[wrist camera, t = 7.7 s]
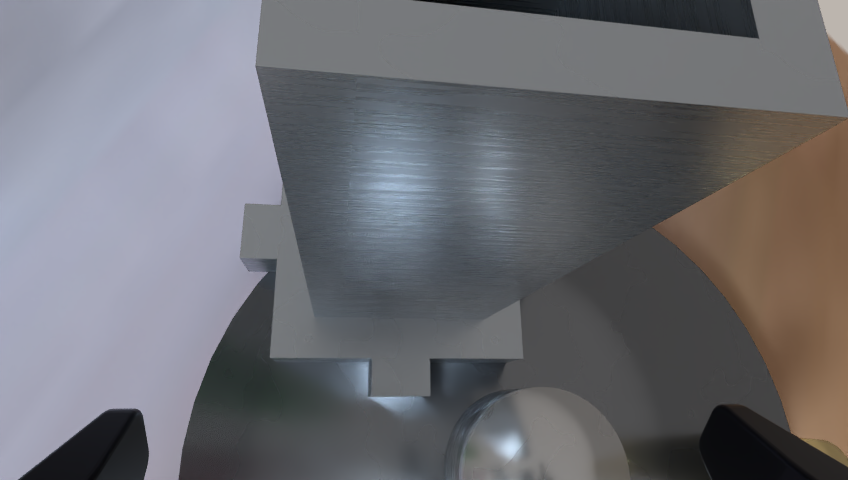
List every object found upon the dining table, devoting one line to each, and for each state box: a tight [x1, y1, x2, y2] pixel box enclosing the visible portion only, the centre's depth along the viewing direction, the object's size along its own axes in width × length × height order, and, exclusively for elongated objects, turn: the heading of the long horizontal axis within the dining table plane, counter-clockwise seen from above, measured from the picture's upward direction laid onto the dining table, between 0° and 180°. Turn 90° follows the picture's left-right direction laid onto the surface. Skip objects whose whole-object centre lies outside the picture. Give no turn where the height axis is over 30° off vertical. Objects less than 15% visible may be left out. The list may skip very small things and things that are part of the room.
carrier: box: [179, 227, 848, 480], centre depth 15 cm, size 19×19×4 cm
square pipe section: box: [240, 0, 848, 397], centre depth 11 cm, size 9×9×13 cm
